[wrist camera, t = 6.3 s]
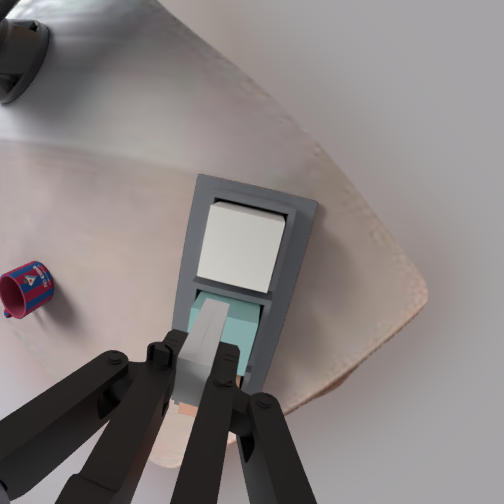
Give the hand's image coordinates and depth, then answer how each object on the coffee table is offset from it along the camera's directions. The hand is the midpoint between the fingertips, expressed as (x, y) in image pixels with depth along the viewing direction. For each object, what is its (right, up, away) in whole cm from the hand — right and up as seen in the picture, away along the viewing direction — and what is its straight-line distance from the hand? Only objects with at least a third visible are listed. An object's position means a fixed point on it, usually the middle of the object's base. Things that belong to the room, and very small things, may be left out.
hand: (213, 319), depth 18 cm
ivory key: (+2, +6, +11) cm, 12 cm away
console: (0, -2, +17) cm, 17 cm away
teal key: (0, -3, +13) cm, 13 cm away
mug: (-32, -1, +19) cm, 37 cm away
